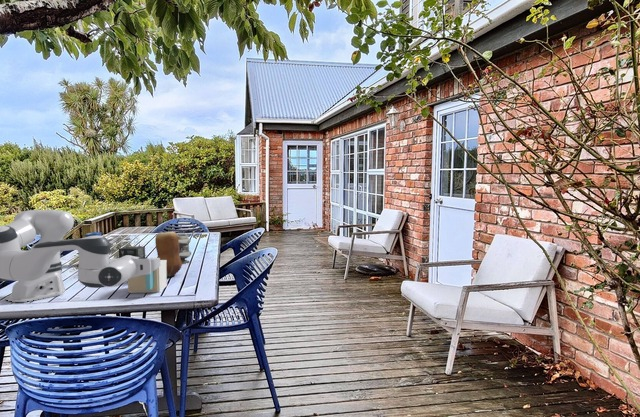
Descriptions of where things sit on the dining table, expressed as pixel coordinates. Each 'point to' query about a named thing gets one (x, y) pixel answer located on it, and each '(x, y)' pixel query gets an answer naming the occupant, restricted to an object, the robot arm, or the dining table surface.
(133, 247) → the tampon box
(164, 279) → the carton
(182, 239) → the apothecary jar
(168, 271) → the butternut squash
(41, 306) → the dining table surface
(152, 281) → the flap
